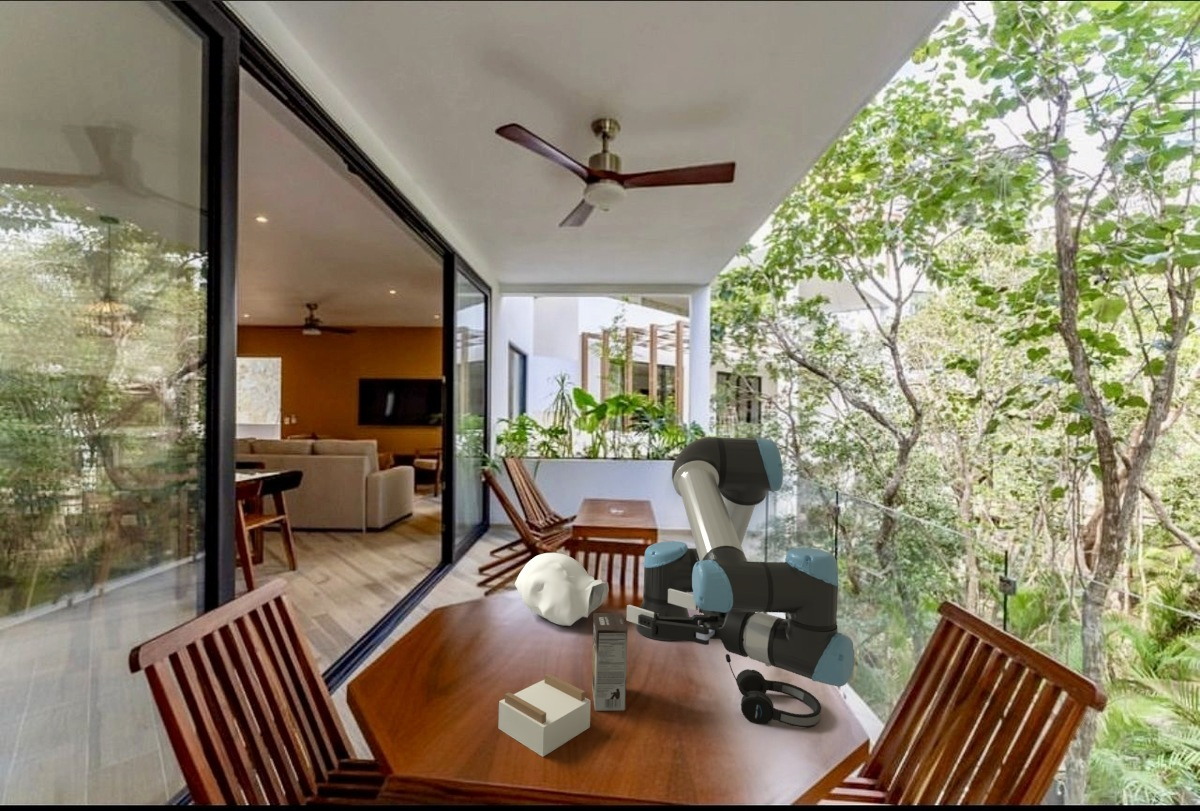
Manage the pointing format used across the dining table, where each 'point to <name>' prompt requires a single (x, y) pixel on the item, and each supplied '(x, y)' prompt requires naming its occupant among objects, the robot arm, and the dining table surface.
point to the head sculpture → (559, 588)
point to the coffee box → (609, 661)
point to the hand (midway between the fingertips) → (649, 603)
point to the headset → (761, 706)
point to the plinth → (545, 714)
